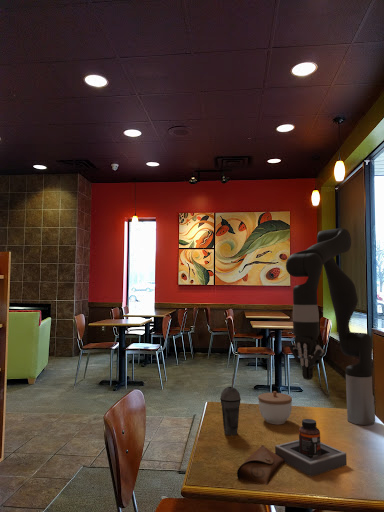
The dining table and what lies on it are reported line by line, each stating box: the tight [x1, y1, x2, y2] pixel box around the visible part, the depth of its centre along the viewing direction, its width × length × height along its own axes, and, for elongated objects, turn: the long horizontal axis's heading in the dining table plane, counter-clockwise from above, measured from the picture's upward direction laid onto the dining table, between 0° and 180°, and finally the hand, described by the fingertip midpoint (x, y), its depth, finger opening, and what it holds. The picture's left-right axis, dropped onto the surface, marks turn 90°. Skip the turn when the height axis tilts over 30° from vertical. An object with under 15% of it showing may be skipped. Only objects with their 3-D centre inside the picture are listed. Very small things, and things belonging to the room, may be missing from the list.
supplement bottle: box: [298, 418, 321, 458], centre depth 113 cm, size 6×6×11 cm
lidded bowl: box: [257, 390, 293, 425], centre depth 148 cm, size 13×13×11 cm
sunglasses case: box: [236, 444, 285, 486], centre depth 108 cm, size 18×7×7 cm
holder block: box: [274, 439, 347, 477], centre depth 113 cm, size 14×14×3 cm
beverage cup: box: [220, 373, 242, 436], centre depth 136 cm, size 7×7×20 cm
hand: (307, 379), depth 115 cm, fingers closed
